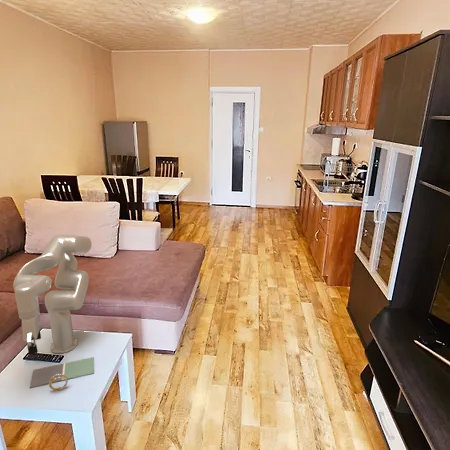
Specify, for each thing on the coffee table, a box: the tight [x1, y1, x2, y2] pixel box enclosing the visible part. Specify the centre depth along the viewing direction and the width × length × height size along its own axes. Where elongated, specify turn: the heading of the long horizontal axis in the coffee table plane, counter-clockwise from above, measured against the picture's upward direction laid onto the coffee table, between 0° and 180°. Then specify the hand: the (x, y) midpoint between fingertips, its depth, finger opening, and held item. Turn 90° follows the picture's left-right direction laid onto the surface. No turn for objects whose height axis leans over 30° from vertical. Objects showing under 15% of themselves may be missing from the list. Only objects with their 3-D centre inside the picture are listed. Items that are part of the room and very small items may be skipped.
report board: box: [29, 357, 95, 389], centre depth 151 cm, size 11×26×1 cm, turn 111°
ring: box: [48, 373, 69, 392], centre depth 140 cm, size 7×3×8 cm, turn 106°
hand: (35, 346), depth 140 cm, fingers open, 9 cm apart
